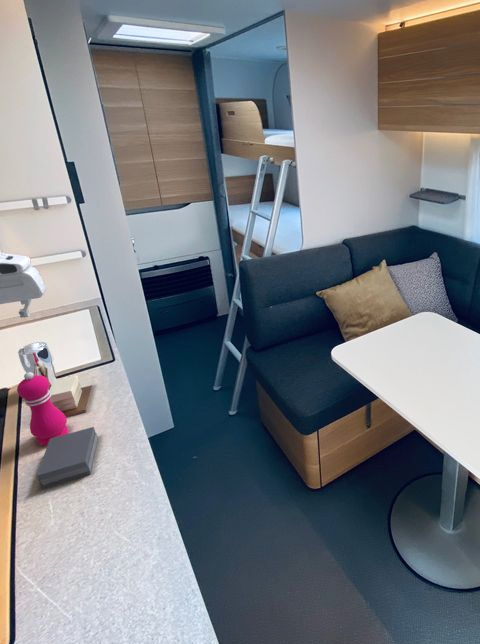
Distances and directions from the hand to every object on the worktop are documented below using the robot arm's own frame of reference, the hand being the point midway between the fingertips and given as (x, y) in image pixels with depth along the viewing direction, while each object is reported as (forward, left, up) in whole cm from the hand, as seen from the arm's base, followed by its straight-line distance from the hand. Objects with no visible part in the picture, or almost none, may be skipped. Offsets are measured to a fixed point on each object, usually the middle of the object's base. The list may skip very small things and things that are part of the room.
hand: (1, 320), depth 98 cm
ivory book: (+5, +5, -26) cm, 27 cm away
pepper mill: (+4, -8, -31) cm, 33 cm away
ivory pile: (+5, +5, -31) cm, 32 cm away
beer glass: (-2, +16, -31) cm, 35 cm away
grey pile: (+10, -20, -31) cm, 38 cm away
